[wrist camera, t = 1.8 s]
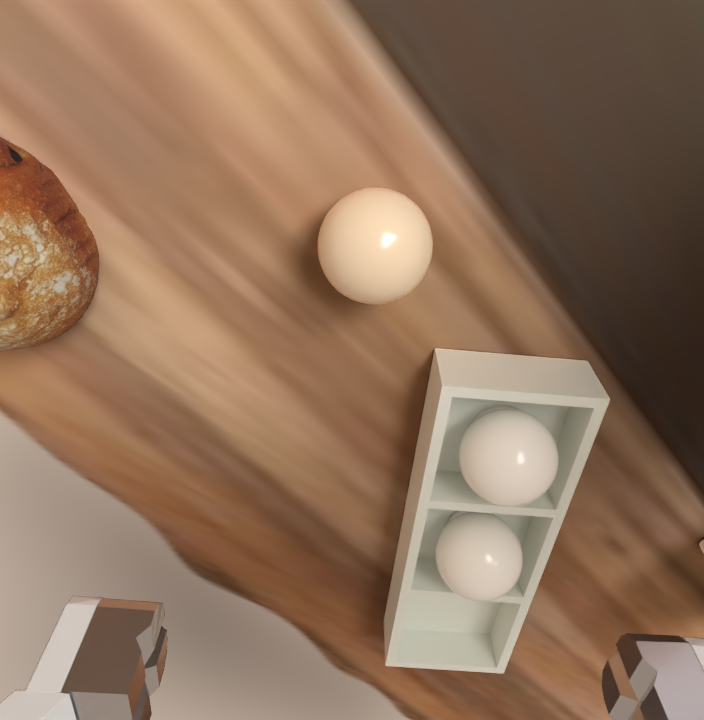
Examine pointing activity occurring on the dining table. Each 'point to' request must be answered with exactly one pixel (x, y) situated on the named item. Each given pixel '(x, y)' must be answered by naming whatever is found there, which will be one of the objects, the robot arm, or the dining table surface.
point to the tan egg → (375, 245)
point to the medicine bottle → (702, 545)
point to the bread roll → (40, 253)
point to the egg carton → (482, 504)
